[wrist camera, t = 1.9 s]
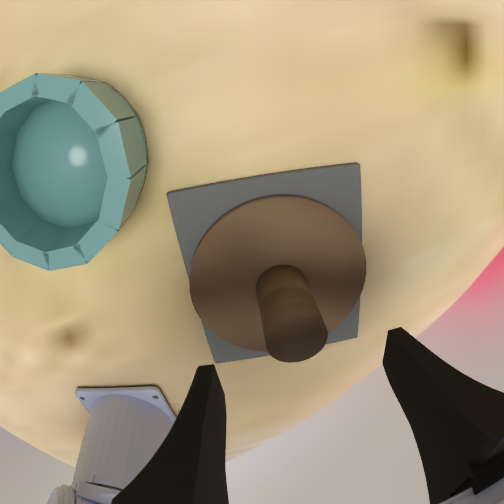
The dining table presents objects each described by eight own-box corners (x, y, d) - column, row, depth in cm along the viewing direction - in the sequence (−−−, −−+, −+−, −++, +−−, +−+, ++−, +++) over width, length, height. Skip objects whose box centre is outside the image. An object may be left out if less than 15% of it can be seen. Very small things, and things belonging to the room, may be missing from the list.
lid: (357, 326, 21) (385, 382, 16) (211, 353, 21) (211, 416, 16) (361, 182, 16) (410, 218, 11) (171, 212, 16) (151, 261, 11)
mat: (355, 333, 21) (357, 337, 21) (215, 359, 21) (215, 363, 21) (357, 162, 16) (359, 164, 16) (167, 192, 16) (166, 194, 15)
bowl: (165, 220, 17) (152, 251, 13) (35, 249, 16) (7, 279, 13) (129, 54, 12) (104, 44, 9) (-5, 112, 12) (-44, 121, 9)
